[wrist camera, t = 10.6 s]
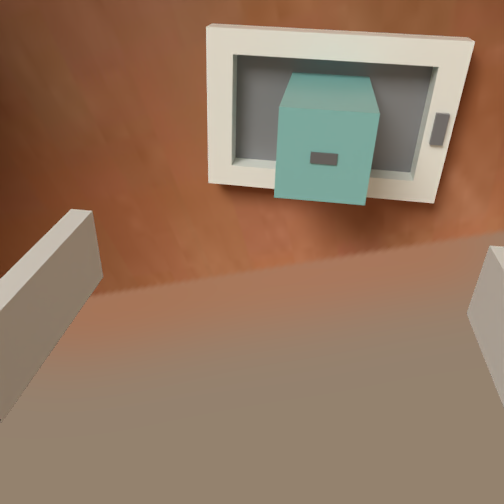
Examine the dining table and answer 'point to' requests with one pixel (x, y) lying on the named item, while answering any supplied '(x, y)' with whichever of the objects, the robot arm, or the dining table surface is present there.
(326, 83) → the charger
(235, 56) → the white shallow tray
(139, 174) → the dining table surface
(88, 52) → the dining table surface
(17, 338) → the robot arm
